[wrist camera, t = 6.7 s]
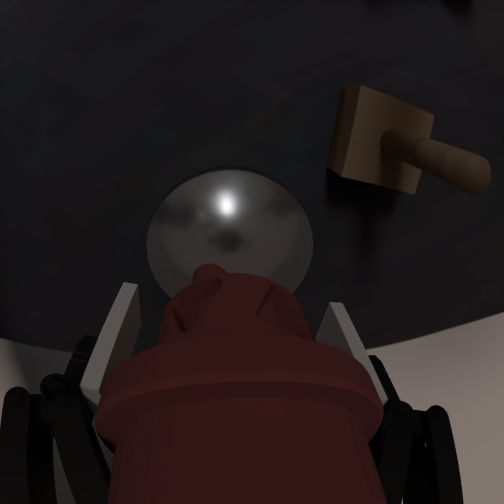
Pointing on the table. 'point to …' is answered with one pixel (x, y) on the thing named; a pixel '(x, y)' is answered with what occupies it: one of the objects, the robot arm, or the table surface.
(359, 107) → the brown wooden peg block
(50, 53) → the table surface
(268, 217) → the grey round disc
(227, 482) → the mechanical component
